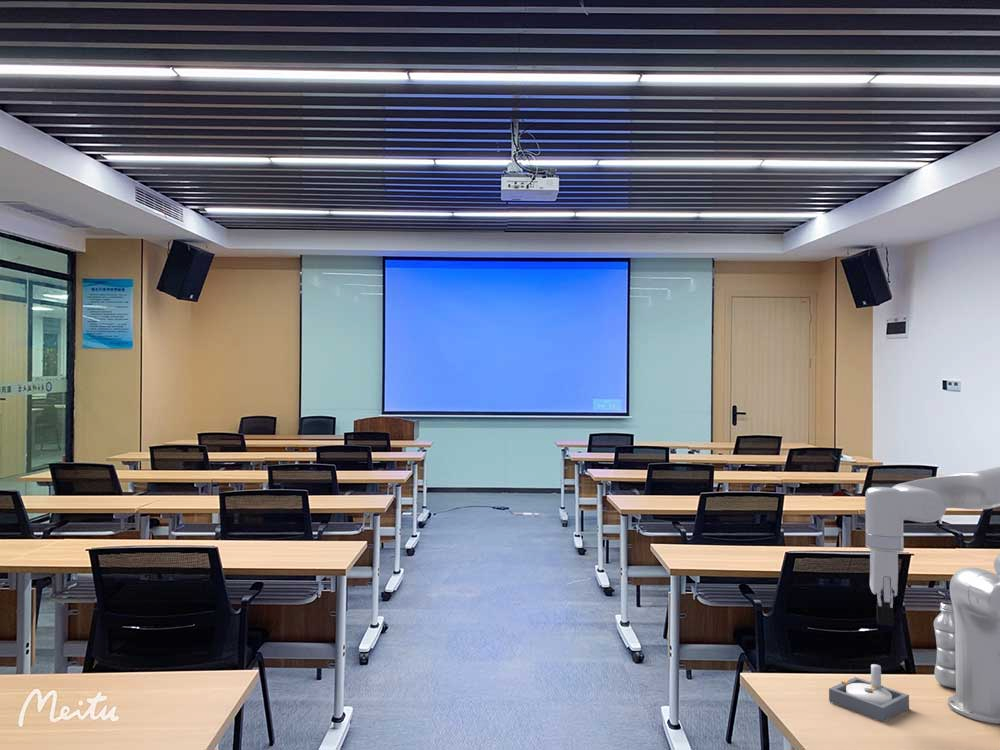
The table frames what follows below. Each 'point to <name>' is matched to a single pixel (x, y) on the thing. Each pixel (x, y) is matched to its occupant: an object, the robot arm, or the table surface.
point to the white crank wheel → (871, 688)
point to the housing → (866, 707)
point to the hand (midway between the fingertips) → (885, 623)
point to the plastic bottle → (945, 646)
